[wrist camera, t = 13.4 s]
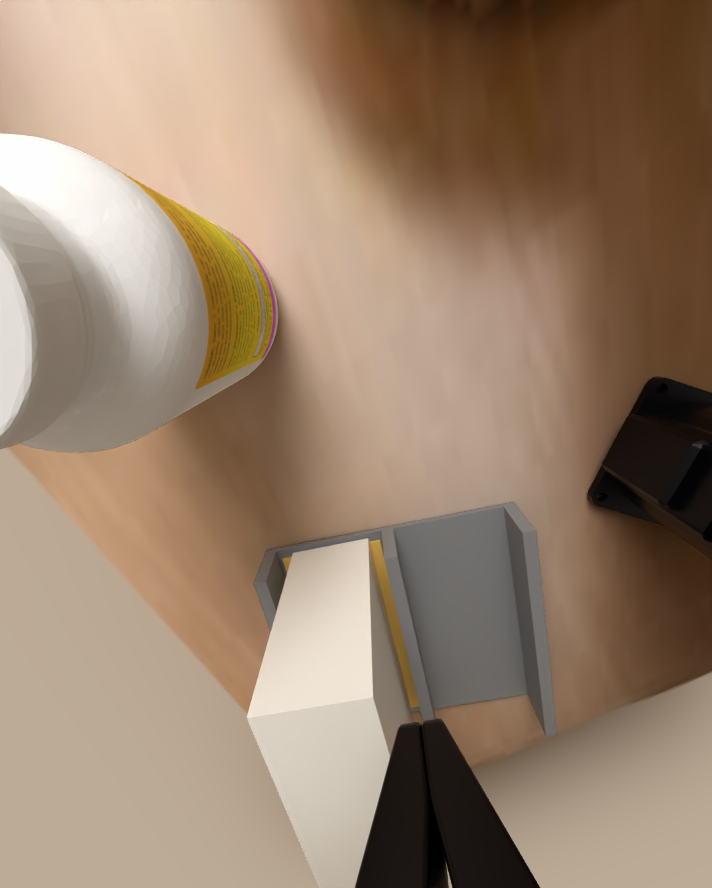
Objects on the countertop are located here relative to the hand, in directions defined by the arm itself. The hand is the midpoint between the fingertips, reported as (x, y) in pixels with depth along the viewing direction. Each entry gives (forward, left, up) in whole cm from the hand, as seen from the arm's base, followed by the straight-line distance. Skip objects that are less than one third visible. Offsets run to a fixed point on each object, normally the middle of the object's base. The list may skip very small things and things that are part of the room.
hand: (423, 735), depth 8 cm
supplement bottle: (+10, -5, -13) cm, 17 cm away
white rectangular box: (-2, +10, -13) cm, 16 cm away
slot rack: (-4, +8, -13) cm, 16 cm away
